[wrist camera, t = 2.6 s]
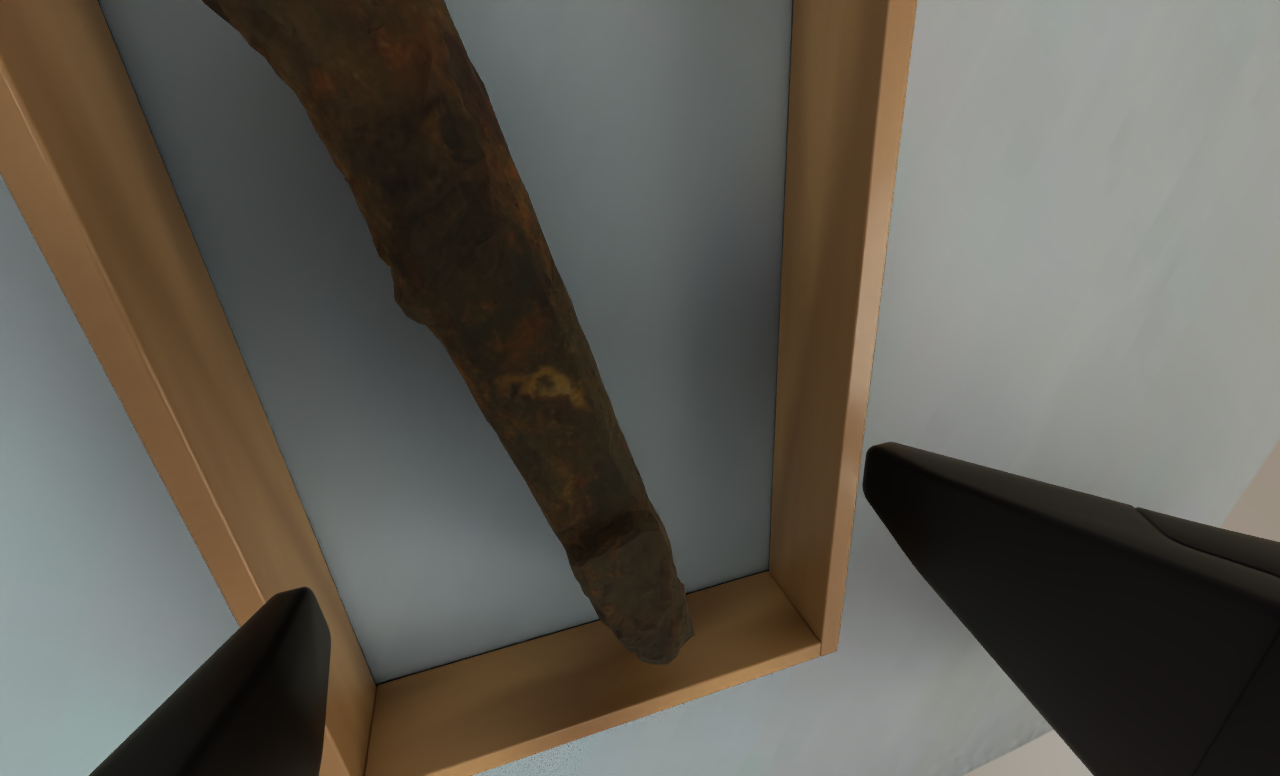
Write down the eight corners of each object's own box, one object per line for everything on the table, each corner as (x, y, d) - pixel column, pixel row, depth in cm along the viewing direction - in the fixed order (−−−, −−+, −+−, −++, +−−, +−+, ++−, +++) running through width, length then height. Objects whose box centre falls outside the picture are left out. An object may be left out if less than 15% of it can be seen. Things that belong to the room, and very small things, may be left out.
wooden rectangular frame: (826, -166, 13) (951, -267, 9) (783, 578, 22) (837, 651, 19) (-42, -219, 9) (-317, -417, 6) (359, 705, 18) (340, 821, 15)
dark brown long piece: (232, -17, 11) (94, -108, 7) (432, -73, 11) (419, -190, 7) (568, 614, 20) (597, 738, 16) (670, 566, 20) (724, 675, 16)
